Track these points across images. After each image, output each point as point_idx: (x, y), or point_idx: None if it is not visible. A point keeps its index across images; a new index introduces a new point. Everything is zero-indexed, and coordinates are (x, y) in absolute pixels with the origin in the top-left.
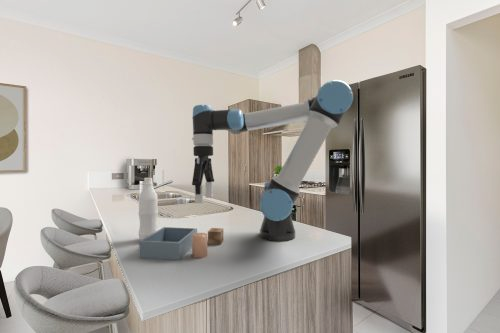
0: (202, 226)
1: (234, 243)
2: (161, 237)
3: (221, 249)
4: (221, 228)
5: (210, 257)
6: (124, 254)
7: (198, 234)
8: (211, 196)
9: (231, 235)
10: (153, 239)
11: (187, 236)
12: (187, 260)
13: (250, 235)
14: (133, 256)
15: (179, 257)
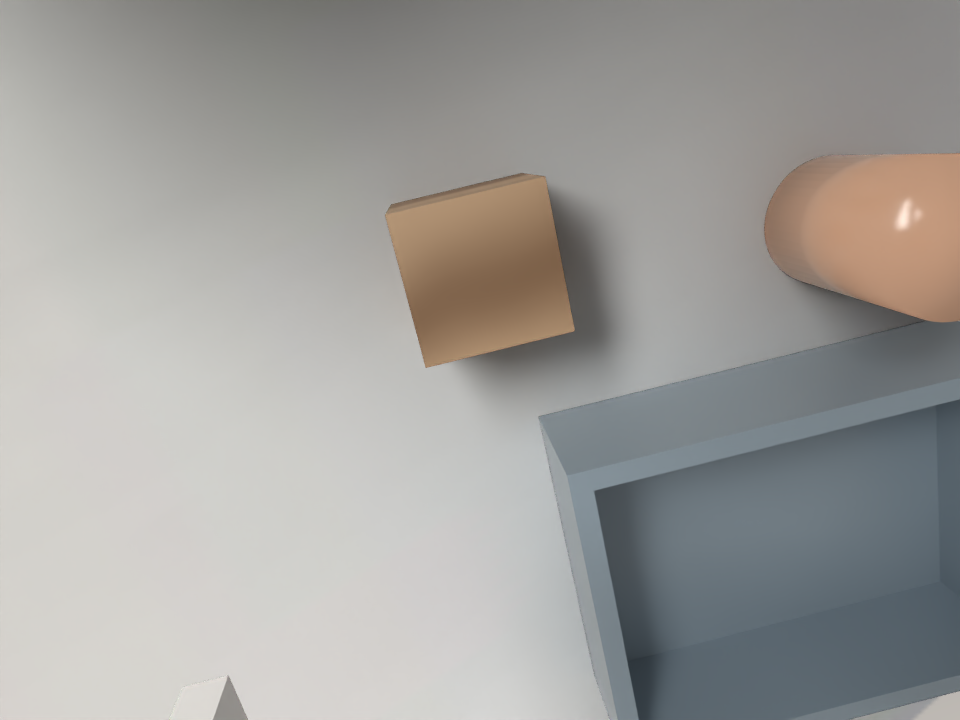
0: (36, 652)
1: (433, 43)
2: (686, 682)
3: (643, 101)
4: (397, 238)
5: (848, 107)
6: (907, 704)
7: (949, 262)
8: (222, 712)
9: (183, 198)
10: (839, 666)
11: (861, 402)
12: None
13: None
14: None
15: (957, 321)
